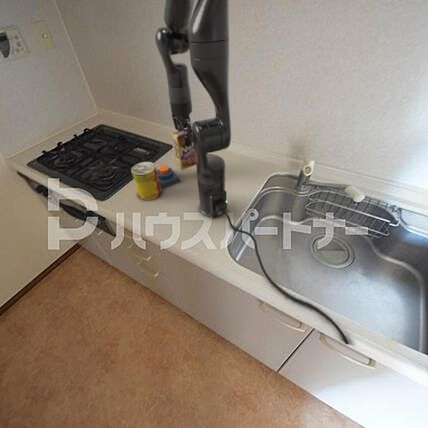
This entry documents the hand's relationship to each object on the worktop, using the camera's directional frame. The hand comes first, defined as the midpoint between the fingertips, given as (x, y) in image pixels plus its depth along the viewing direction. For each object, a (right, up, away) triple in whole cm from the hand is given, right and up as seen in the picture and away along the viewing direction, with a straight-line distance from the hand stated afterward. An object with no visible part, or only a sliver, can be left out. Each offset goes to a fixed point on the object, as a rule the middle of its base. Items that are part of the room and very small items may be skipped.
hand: (185, 143), depth 94 cm
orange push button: (-9, -13, +9) cm, 18 cm away
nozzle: (-9, -10, +6) cm, 15 cm away
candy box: (0, -7, +7) cm, 10 cm away
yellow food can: (-15, -20, +3) cm, 25 cm away
